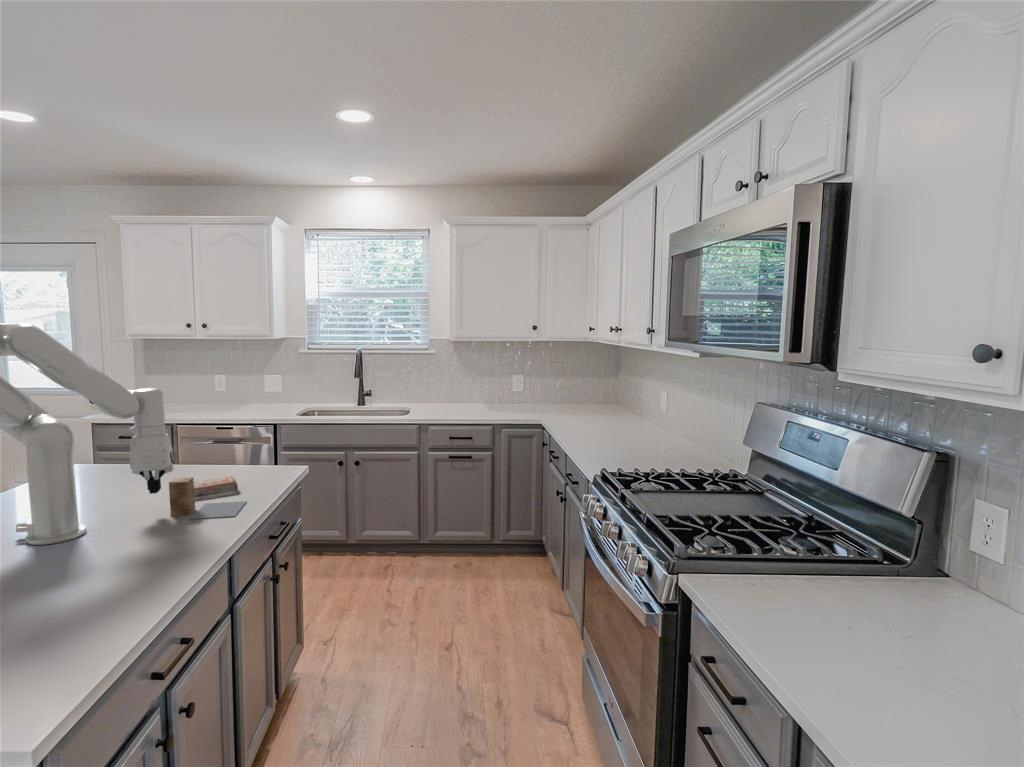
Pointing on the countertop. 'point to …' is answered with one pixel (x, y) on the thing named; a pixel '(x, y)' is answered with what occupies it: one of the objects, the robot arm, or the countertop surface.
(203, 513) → the rubber mat
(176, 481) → the walnut block
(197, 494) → the packaged product
